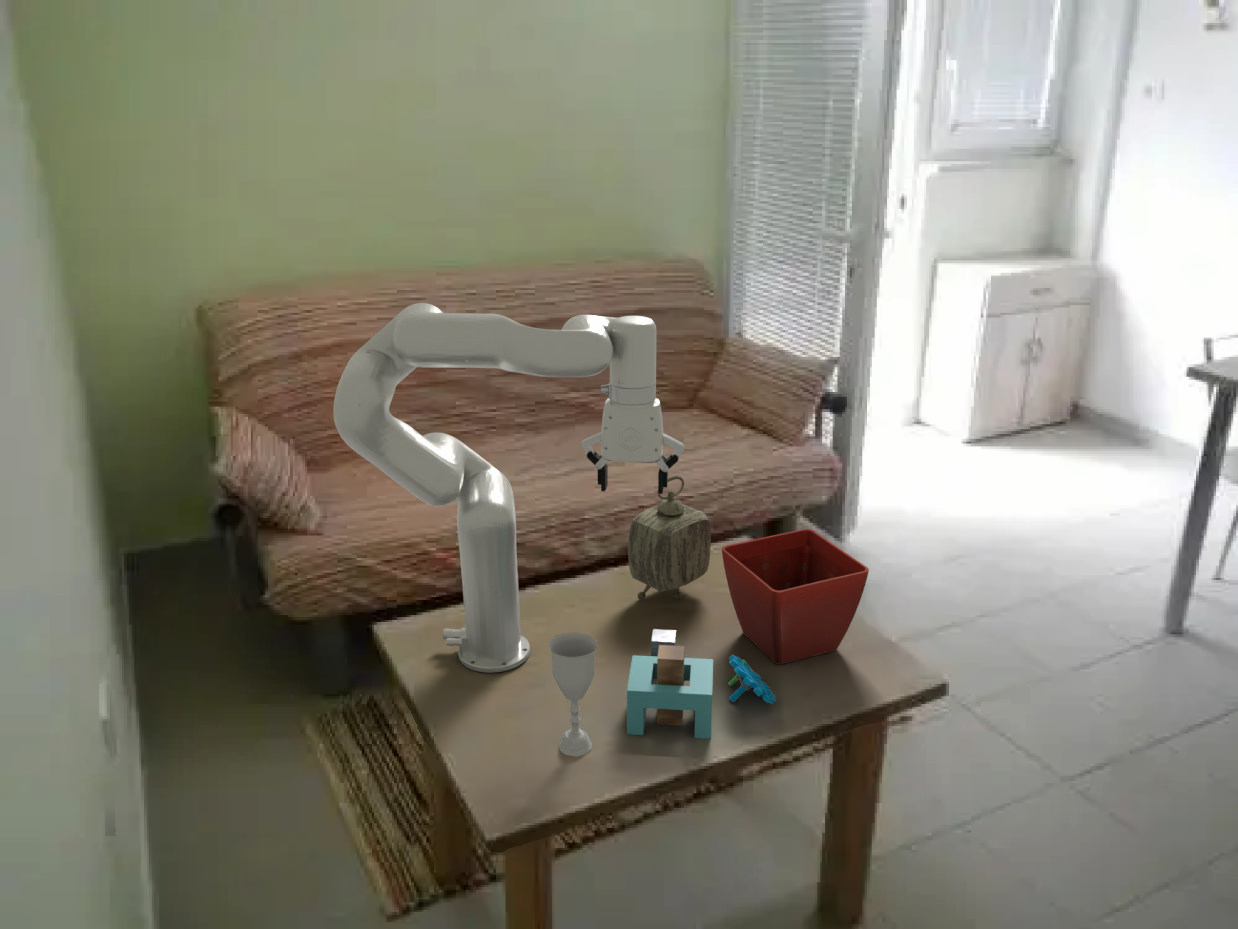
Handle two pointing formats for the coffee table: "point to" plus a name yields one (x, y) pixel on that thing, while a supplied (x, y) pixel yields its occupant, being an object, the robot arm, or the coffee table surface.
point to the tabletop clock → (669, 545)
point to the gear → (748, 681)
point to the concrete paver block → (662, 639)
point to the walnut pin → (670, 679)
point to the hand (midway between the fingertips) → (632, 489)
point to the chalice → (573, 682)
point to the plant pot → (793, 593)
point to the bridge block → (670, 693)
